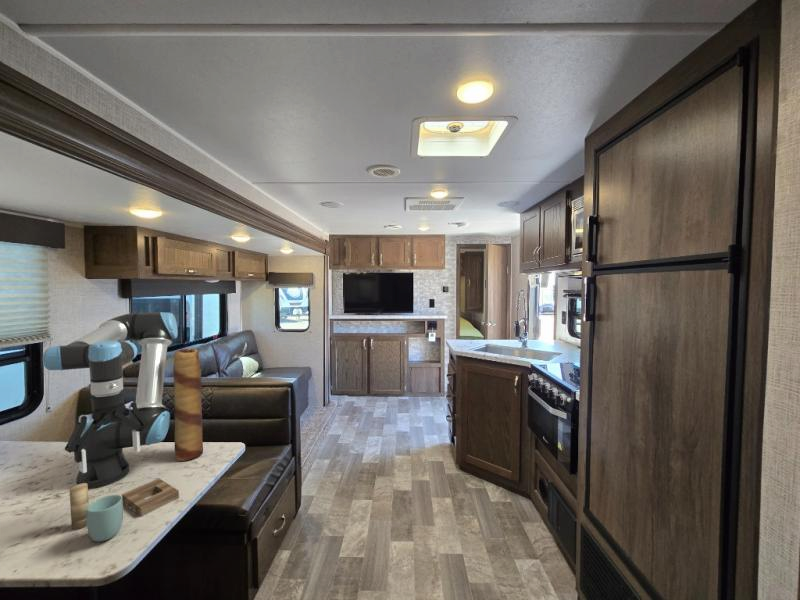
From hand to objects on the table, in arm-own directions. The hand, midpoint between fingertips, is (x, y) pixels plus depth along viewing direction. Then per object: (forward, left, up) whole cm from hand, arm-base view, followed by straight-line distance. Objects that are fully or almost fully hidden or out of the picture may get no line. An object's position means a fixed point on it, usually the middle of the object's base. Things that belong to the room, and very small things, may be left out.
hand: (111, 460), depth 107 cm
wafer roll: (-20, +33, -19) cm, 43 cm away
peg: (-5, -7, -19) cm, 20 cm away
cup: (+7, -4, -19) cm, 21 cm away
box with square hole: (-1, +10, -19) cm, 21 cm away
